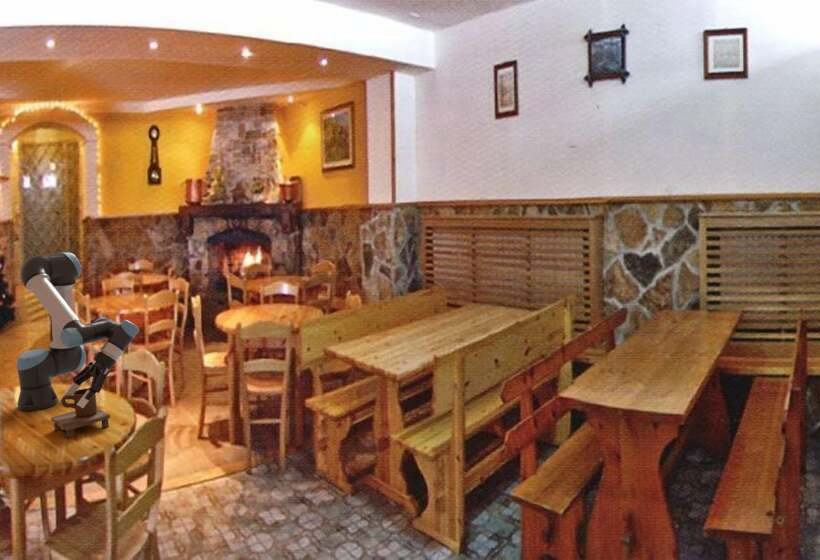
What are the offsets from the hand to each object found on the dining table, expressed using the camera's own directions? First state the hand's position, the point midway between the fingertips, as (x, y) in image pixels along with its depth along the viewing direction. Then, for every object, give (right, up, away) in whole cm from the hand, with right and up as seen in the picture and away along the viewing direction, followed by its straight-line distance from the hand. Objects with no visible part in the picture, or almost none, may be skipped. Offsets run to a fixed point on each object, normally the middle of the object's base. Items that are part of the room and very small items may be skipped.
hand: (72, 402), depth 249 cm
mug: (+1, -6, +3) cm, 7 cm away
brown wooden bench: (+2, -11, +4) cm, 11 cm away
